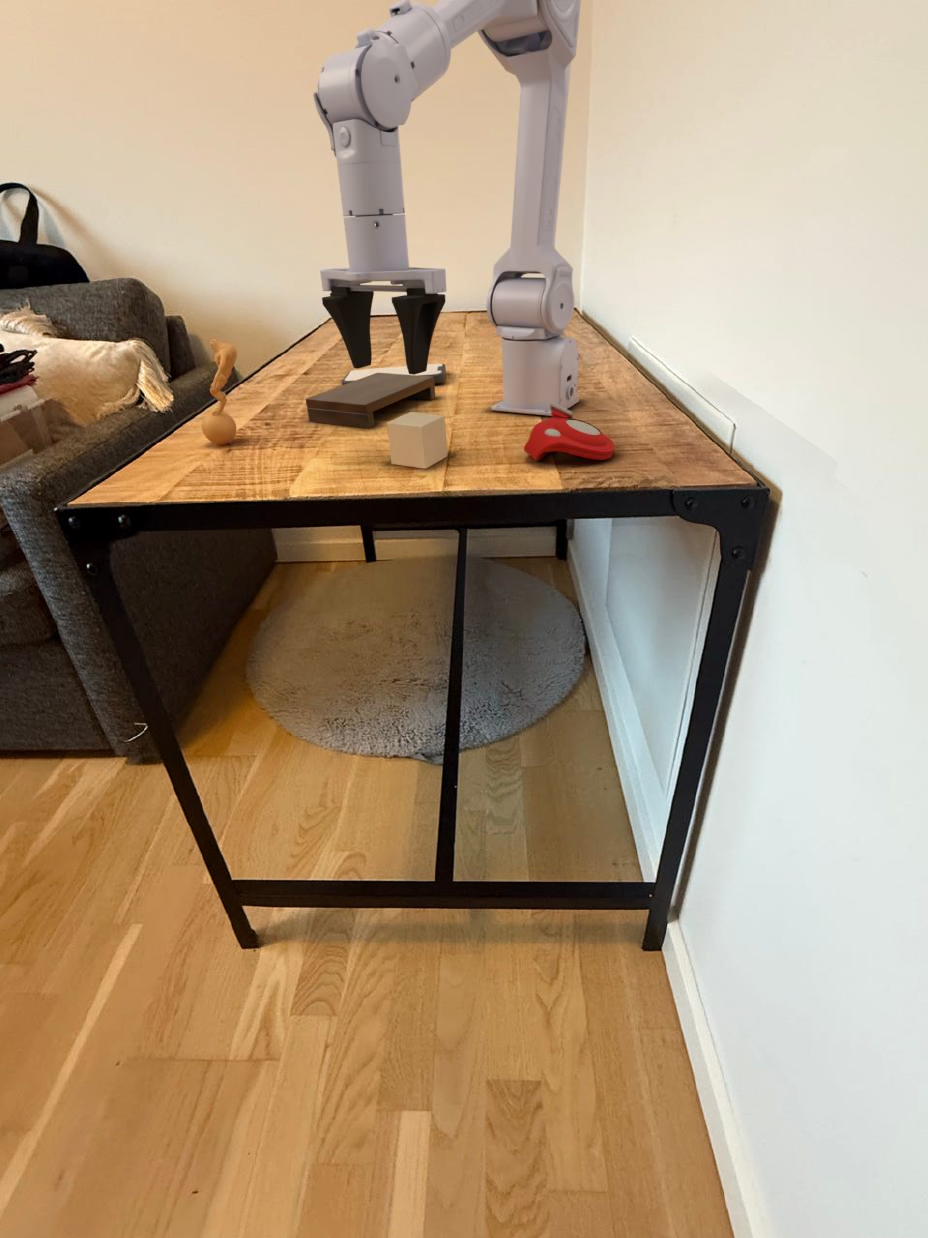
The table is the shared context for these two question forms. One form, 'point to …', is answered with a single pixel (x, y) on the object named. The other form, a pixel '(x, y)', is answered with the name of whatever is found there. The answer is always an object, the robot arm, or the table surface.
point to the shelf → (366, 398)
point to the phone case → (398, 372)
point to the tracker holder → (568, 437)
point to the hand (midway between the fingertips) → (389, 369)
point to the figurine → (220, 396)
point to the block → (417, 439)
